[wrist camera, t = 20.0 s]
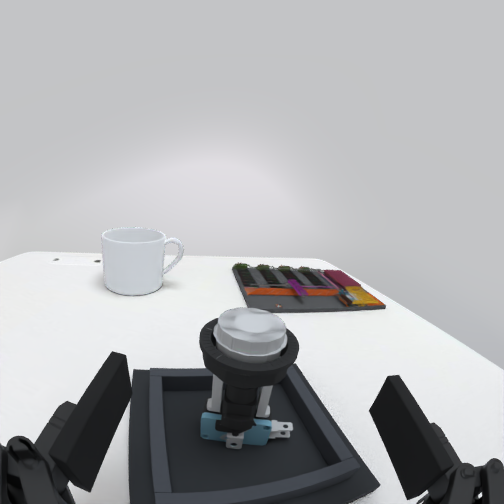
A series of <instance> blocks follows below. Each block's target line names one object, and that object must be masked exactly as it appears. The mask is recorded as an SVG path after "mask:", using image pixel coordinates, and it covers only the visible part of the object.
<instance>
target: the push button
mask: <svg viewBox="0 0 504 504" xmlns="http://www.w3.org/2000/svg"><path fill="white" fill-rule="evenodd" d="M199 343H200V348H201V350H202V352H203V360H204V364H205V367H206V368H207V369H208V370H209V371H211V372H212V373H213V387H212V397H207V398H206V400H205V404H204V408H203V412H202V417H201V433H200V436H201V437H202V438H204V439H208V440H217V441H224V442H226V447H227V448H233V449H241V448H242V444H250V445H266V444H267V441H268V438H272V439H275V437H283V438H289V437H290V431H292V430H293V426H292V423H291V422H277V420H272V417H271V406H270V405H269V404H268V402H269V398H270V395H271V391H272V387H273V385H275V384H276V383H278V382H279V381H281V380H282V379H284V378H285V377H286V373H287V370H288V368H289V367H290V366H291V365H292V364H293V363H294V362H295V360H296V358H297V355H298V351H299V343H298V341H297V339H296V337H295V336H294V334H293V333H292V332H291V331H289V330H288V329H287V328H286V326H285V323H284V322H283V321H282V320H281V318H279V317H278V316H276V315H274V314H272V313H270V312H268V311H265V310H260V309H256V308H241V307H240V308H235V309H230V310H227V311H225V312H224V313H222V314H221V315H220V317H219V318H216V319H214V320H212V321H210V322H208V323H207V324H206V325H205V326H204V327H203V328H202V330H201V332H200V340H199ZM215 347H216V348H215ZM223 383H226V388H225V394H224V399H222V393H223ZM258 387H260V392H259V396H258V401H257V391H258ZM283 425H288V428H284V427H283ZM280 432H285V433H286V434H285V435H281V434H280ZM231 443H236V444H237V446H232V445H231Z"/></svg>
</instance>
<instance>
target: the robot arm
mask: <svg viewBox="0 0 504 504" xmlns="http://www.w3.org/2000/svg"><path fill="white" fill-rule="evenodd" d="M132 394H133V392H132V387H131V382H130V376H129V371H128V365H127V358H126V355H124V354H120V353H116V352H113V351H112V352H111V354H110V355H109V357H108V358H107V360H106V361H105V362H104V364H103V365H102V367H101V368H100V370H99V371H98V373H97V374H96V376H95V377H94V379H93V380H92V382H91V383H90V385H89V386H88V388H87V389H86V391H85V393H84V394H83V396H82V397H81V399H80V400H79V402H78V404H77V405H76V404H73V403H71V402H69V401H66V402H65V403H63V404H62V405H60V406H59V407H58V408H57V409H56V411H55V412H54V414H53V417H51V418H50V420H49V423H47V425H46V426H45V428H44V429H43V431H42V432H41V434H40V436H39V437H38V439H37V440H36V442H35V444H33V443H32V442H31V441H30V440H29V439H28V438H26V437H24V436H15V437H13V438H11V439H10V440H9V441H8V443H7V446H6V447H4V446H2V445H1V444H0V504H75V501H74V499H73V497H72V494H71V492H70V490H69V487H68V486H67V484H68V482H69V480H70V481H71V482H72V483H73V485H75V486H77V487H79V488H81V489H83V490H85V491H88V492H91V490H92V487H93V484H94V482H95V479H96V477H97V474H98V472H99V469H100V467H101V465H102V462H103V460H104V457H105V455H106V453H107V450H108V448H109V446H110V443H111V441H112V439H113V436H114V434H115V432H116V429H117V427H118V425H119V423H120V420H121V418H122V416H123V414H124V412H125V409H126V407H127V405H128V403H129V401H130V399H131V396H132ZM369 412H370V414H371V416H372V418H373V421H374V423H375V425H376V427H377V429H378V432H379V434H380V436H381V439H382V441H383V443H384V445H385V448H386V450H387V452H388V455H389V457H390V459H391V462H392V464H393V466H394V469H395V471H396V474H397V476H398V478H399V481H400V483H401V486H402V488H403V491H404V493H405V496H406V498H407V500H409V499H412V498H415V497H417V496H420V495H421V494H422V493H423V492H425V491H426V490H428V492H429V493H428V494H426V495H425V496H424V497H423V498H421V499H420V500H419V501H418V502H417V504H419V503H421V502H422V501H423V500H424V502H423V503H422V504H504V466H503V464H502V462H501V461H500V460H499V459H496V458H493V459H491V460H489V461H488V462H487V463H486V464H485V465H484V466H478V467H474V466H473V465H471V464H469V463H462V462H461V461H460V459H459V457H458V456H457V454H456V452H455V451H454V449H453V447H452V446H451V444H450V442H448V439H447V437H445V434H444V433H443V431H442V429H441V428H440V427H439V426H437V425H436V424H435V423H429V421H428V419H427V418H426V416H425V415H424V413H423V411H422V410H421V408H420V407H419V405H418V404H417V402H416V400H415V399H414V397H413V396H412V394H411V393H410V391H409V390H408V388H407V387H406V385H405V384H404V382H403V381H402V379H401V378H400V376H399V375H393V376H387V378H386V380H385V382H384V384H383V386H382V388H381V390H380V392H379V394H378V396H377V397H376V399H375V401H374V403H373V405H372V406H371V408H370V410H369ZM481 492H482V497H481V498H478V495H479V494H480V493H481Z"/></svg>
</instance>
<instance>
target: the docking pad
mask: <svg viewBox="0 0 504 504" xmlns="http://www.w3.org/2000/svg"><path fill="white" fill-rule="evenodd" d="M212 387H213V373H212V372H211V371H209V370H208V369H207V368H199V369H167V368H150V370H136V369H134V370H133V379H132V392H133V394H132V396H131V403H130V420H129V491H130V504H348V503H350V502H352V501H354V500H356V499H359V498H361V497H363V496H365V495H367V494H369V493H371V492H373V491H375V490H376V489H377V488H378V487H379V486H380V484H379V482H378V481H377V479H376V478H375V477H374V475H373V474H372V473H371V471H370V470H369V468H368V467H367V466H366V464H365V463H364V462H363V460H362V459H361V457H360V456H359V455H358V453H357V452H356V450H355V449H354V448H353V446H352V445H351V443H350V442H349V441H348V439H347V438H346V436H345V435H344V433H343V432H342V431H341V429H340V428H339V426H338V425H337V423H336V422H335V421H334V419H333V418H332V416H331V415H330V413H329V412H328V410H327V409H326V408H325V406H324V405H323V403H322V402H321V400H320V399H319V397H318V396H317V394H316V393H315V391H314V390H313V389H312V387H311V386H310V384H309V383H308V381H307V380H306V378H305V377H304V375H303V374H302V372H301V371H300V369H299V368H298V366H297V365H296V364H292V365H291V366H290V367H289V368H288V370H287V373H286V377H285V378H284V379H282V380H281V381H279V382H278V383H276V384H275V385H273V387H272V391H271V395H270V398H269V402H268V404H269V405H270V406H271V417H272V420H277V422H291V423H292V426H293V430H292V431H290V437H289V438H283V437H275V439H272V438H268V441H267V444H266V445H250V444H242V448H241V449H233V448H227V447H226V442H224V441H217V440H208V439H204V438H202V437H201V436H200V433H201V417H202V412H203V408H204V404H205V400H206V398H207V397H212ZM225 388H226V383H223V393H222V399H224V394H225ZM259 392H260V387H258V391H257V401H258V396H259ZM283 427H284V428H288V425H283ZM280 434H281V435H285V434H286V433H285V432H280ZM231 445H232V446H237V444H236V443H231Z"/></svg>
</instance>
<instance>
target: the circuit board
mask: <svg viewBox="0 0 504 504" xmlns="http://www.w3.org/2000/svg"><path fill="white" fill-rule="evenodd" d="M247 266H249V267H250V265H247V264H241V263H238V264H237V265H236V264H235V265H233V268H232V270H233V273H234V275H235V277H236V280H237V282H238V284H239V287H240V289H241V291H242V294H243V296H244V298H245V301H246V303H247V305H248V308H256V309H260V310H265V311H268V312H329V311H354V310H372V309H385V308H386V305H385V304H383V303H382V302H381V301H379V300H378V299H377V298H375V297H374V296H373V295H371V294H370V293H368V292H367V291H366V290H364V289H363V288H361V284H360V285H359V283H358V282H357V283H356V281H355V280H353V279H352V278H350V277H349V276H348V275H346V274H345V273H344V272H343V273H342V271H341V270H336V271H334V270H331V271H332V272H330V271H329V270H320V269H319V268H318V269H312V268H311V269H310V268H309V267H302V266H301V267H299V268H300V269H299V268H298V269H293V268H292V267H291V268H292V269H290V267H289V266H284V267H283V266H282V265H281V266H279V267H278V268H274V267H273V266H272V267H273V268H269V267H270V266H268V265H261V264H260V265H258V267H252V268H247ZM302 270H303V271H302ZM321 271H325V272H321Z"/></svg>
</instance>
